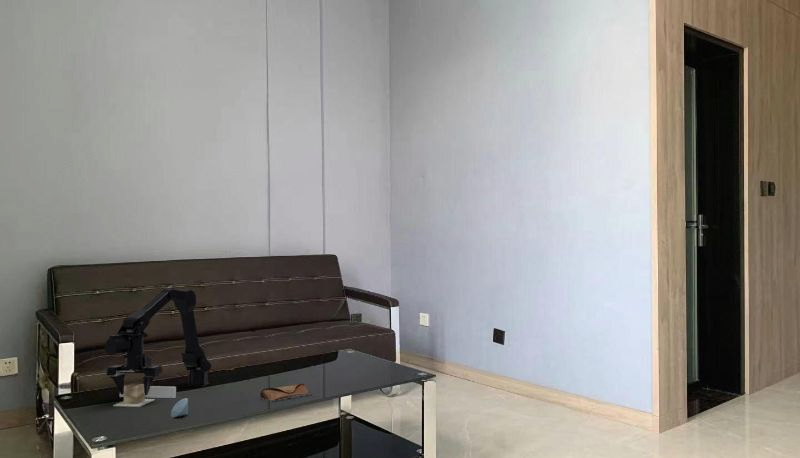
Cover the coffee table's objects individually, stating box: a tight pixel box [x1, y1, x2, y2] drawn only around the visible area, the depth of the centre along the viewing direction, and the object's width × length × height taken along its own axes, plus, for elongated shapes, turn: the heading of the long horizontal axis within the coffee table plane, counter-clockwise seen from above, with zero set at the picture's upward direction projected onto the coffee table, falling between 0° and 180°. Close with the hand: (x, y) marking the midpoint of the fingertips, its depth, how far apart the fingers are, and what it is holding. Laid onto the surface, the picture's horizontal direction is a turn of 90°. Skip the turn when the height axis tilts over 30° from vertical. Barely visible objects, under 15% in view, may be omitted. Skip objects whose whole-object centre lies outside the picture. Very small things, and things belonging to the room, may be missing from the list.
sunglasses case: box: [260, 383, 310, 400], centre depth 230 cm, size 18×7×7 cm
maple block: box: [123, 383, 146, 404], centre depth 223 cm, size 5×5×6 cm
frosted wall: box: [119, 385, 177, 399], centre depth 232 cm, size 22×1×4 cm, turn 82°
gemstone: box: [170, 397, 189, 419], centre depth 205 cm, size 8×8×5 cm
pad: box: [112, 398, 156, 408], centre depth 223 cm, size 10×10×1 cm
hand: (134, 394), depth 223 cm, fingers open, 9 cm apart
